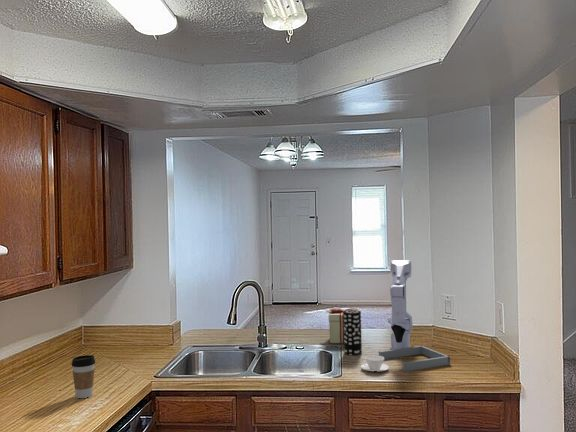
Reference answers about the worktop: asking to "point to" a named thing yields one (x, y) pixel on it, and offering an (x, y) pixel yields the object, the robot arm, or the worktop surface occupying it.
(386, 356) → the cubby
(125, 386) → the worktop surface
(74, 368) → the coffee cup
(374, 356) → the teacup
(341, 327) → the gift box
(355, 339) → the spotted tube
